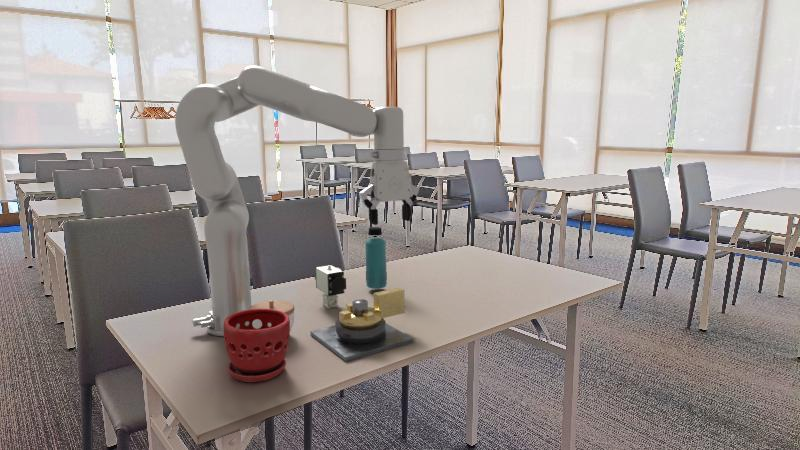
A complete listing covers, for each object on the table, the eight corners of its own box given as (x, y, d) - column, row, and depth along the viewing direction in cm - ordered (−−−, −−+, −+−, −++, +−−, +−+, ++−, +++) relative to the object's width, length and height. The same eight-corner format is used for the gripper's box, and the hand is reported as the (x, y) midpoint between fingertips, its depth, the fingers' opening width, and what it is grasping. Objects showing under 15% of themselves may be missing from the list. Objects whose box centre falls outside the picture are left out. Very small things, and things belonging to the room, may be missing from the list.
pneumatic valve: (331, 314, 142) (330, 271, 140) (314, 302, 152) (313, 262, 150) (349, 310, 145) (348, 268, 143) (332, 298, 155) (330, 259, 152)
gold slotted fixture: (352, 333, 118) (351, 307, 117) (332, 319, 126) (331, 296, 125) (413, 317, 127) (413, 293, 126) (390, 306, 135) (390, 283, 134)
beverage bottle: (390, 292, 161) (389, 228, 157) (369, 294, 158) (368, 230, 154) (382, 286, 167) (382, 224, 163) (363, 288, 164) (361, 226, 160)
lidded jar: (304, 337, 126) (302, 300, 125) (264, 350, 119) (262, 311, 117) (280, 325, 134) (278, 290, 132) (242, 337, 127) (239, 300, 125)
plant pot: (239, 394, 99) (235, 335, 97) (218, 369, 110) (214, 315, 108) (302, 375, 107) (300, 320, 105) (276, 353, 117) (274, 302, 115)
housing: (345, 361, 113) (345, 344, 112) (309, 334, 128) (309, 319, 127) (412, 342, 123) (412, 326, 122) (372, 319, 138) (371, 304, 137)
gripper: (365, 158, 125) (367, 228, 129) (425, 155, 134) (425, 220, 137) (352, 157, 132) (354, 223, 135) (410, 154, 140) (411, 216, 144)
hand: (390, 222), depth 136 cm, fingers open, 9 cm apart
